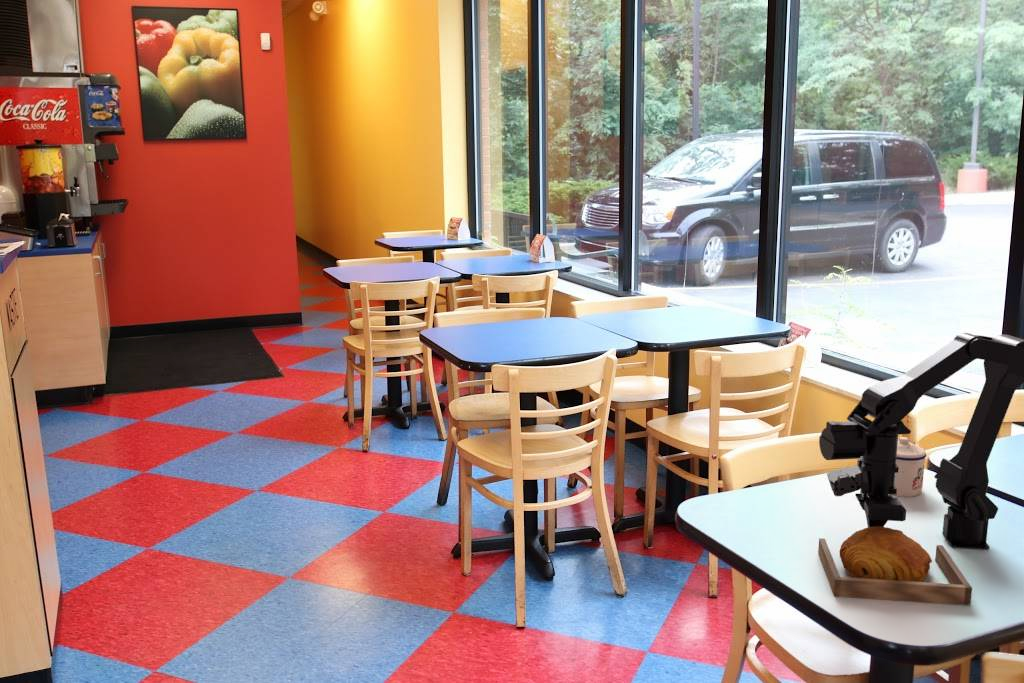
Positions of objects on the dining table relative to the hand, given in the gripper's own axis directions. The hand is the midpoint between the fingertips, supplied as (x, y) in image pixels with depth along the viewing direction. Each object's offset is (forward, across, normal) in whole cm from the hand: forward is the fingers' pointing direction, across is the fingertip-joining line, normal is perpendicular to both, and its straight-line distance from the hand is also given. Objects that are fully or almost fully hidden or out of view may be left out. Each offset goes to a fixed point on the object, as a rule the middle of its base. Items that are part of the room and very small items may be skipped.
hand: (872, 537), depth 164 cm
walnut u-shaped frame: (+2, +12, 0) cm, 12 cm away
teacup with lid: (+2, -32, +12) cm, 34 cm away
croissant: (+2, +9, 0) cm, 9 cm away
